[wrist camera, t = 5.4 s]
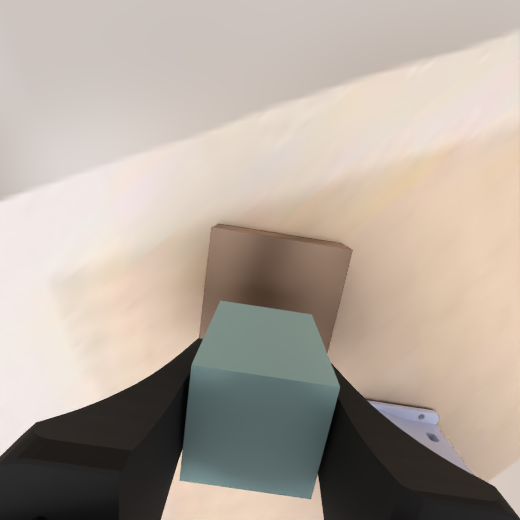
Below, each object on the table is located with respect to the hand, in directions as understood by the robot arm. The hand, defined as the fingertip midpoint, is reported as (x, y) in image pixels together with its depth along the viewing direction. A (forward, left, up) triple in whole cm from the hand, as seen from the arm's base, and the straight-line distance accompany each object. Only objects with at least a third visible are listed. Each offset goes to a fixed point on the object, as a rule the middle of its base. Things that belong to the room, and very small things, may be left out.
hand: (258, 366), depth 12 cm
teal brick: (0, 0, -1) cm, 1 cm away
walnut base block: (-1, -1, -8) cm, 8 cm away
